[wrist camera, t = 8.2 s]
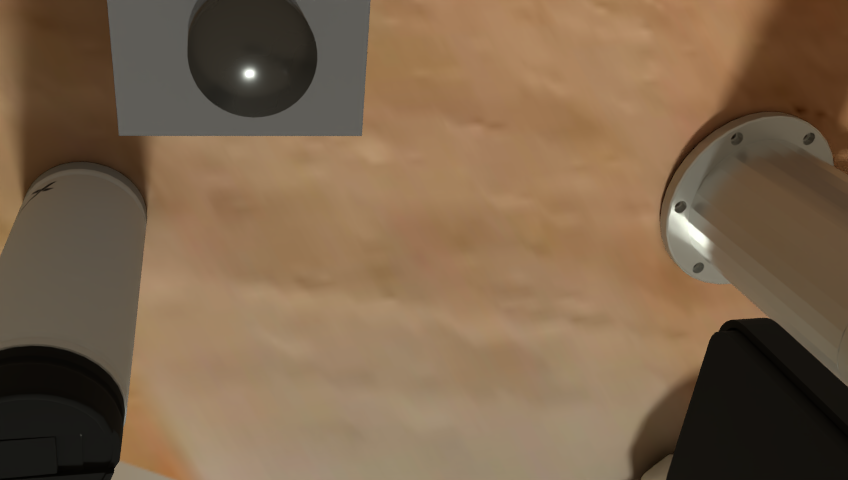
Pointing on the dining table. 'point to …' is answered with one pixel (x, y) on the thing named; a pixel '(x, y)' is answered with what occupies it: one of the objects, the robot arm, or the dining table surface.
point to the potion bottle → (658, 469)
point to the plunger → (251, 54)
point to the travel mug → (69, 323)
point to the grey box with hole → (196, 115)
